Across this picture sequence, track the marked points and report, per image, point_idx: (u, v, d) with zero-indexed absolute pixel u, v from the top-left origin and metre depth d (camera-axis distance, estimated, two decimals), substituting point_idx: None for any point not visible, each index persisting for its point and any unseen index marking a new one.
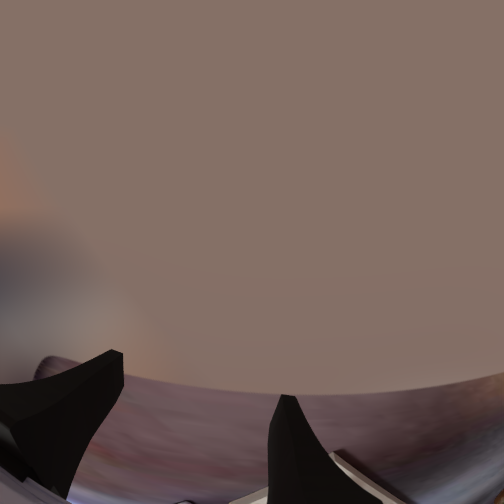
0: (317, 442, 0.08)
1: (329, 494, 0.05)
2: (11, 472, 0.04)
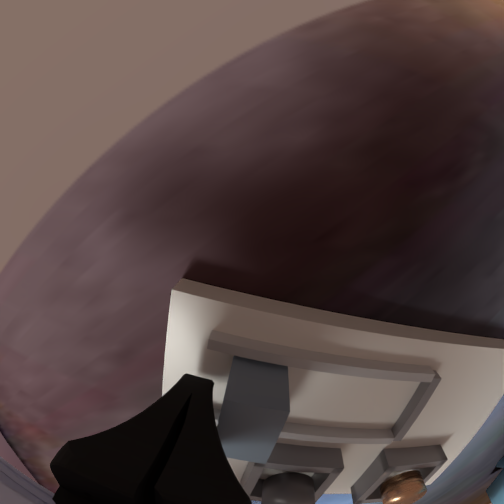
0: (211, 426, 0.08)
1: (192, 476, 0.06)
2: None
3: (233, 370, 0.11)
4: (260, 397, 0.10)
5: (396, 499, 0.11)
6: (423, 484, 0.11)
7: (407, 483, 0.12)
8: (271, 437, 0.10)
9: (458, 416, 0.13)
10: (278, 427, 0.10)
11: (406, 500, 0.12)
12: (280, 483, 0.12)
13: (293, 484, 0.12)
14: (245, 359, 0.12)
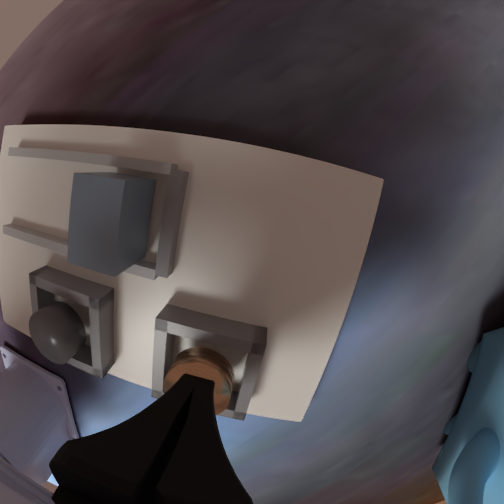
0: (212, 426, 0.08)
1: (193, 477, 0.06)
2: None
3: (100, 172, 0.11)
4: (107, 176, 0.10)
5: None
6: (216, 371, 0.12)
7: (188, 359, 0.12)
8: (112, 224, 0.10)
9: (274, 271, 0.13)
10: (117, 206, 0.10)
11: None
12: (44, 306, 0.12)
13: (51, 307, 0.12)
14: (118, 173, 0.12)
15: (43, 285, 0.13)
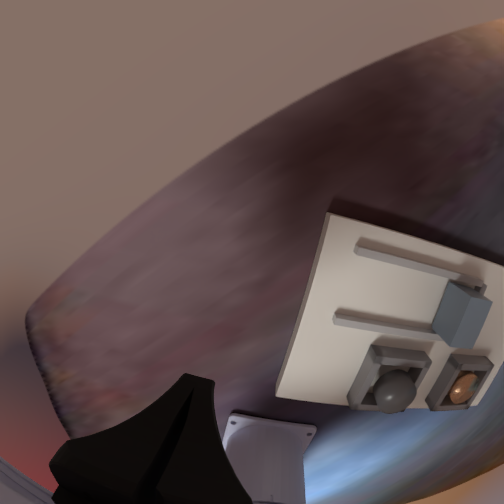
0: (212, 426, 0.08)
1: (193, 477, 0.06)
2: None
3: (458, 287, 0.16)
4: (479, 296, 0.15)
5: (460, 389, 0.18)
6: (476, 376, 0.18)
7: (465, 373, 0.18)
8: (481, 323, 0.15)
9: (497, 328, 0.18)
10: (486, 314, 0.15)
11: (466, 391, 0.18)
12: (392, 377, 0.17)
13: (402, 376, 0.17)
14: (455, 283, 0.17)
15: (389, 362, 0.18)
